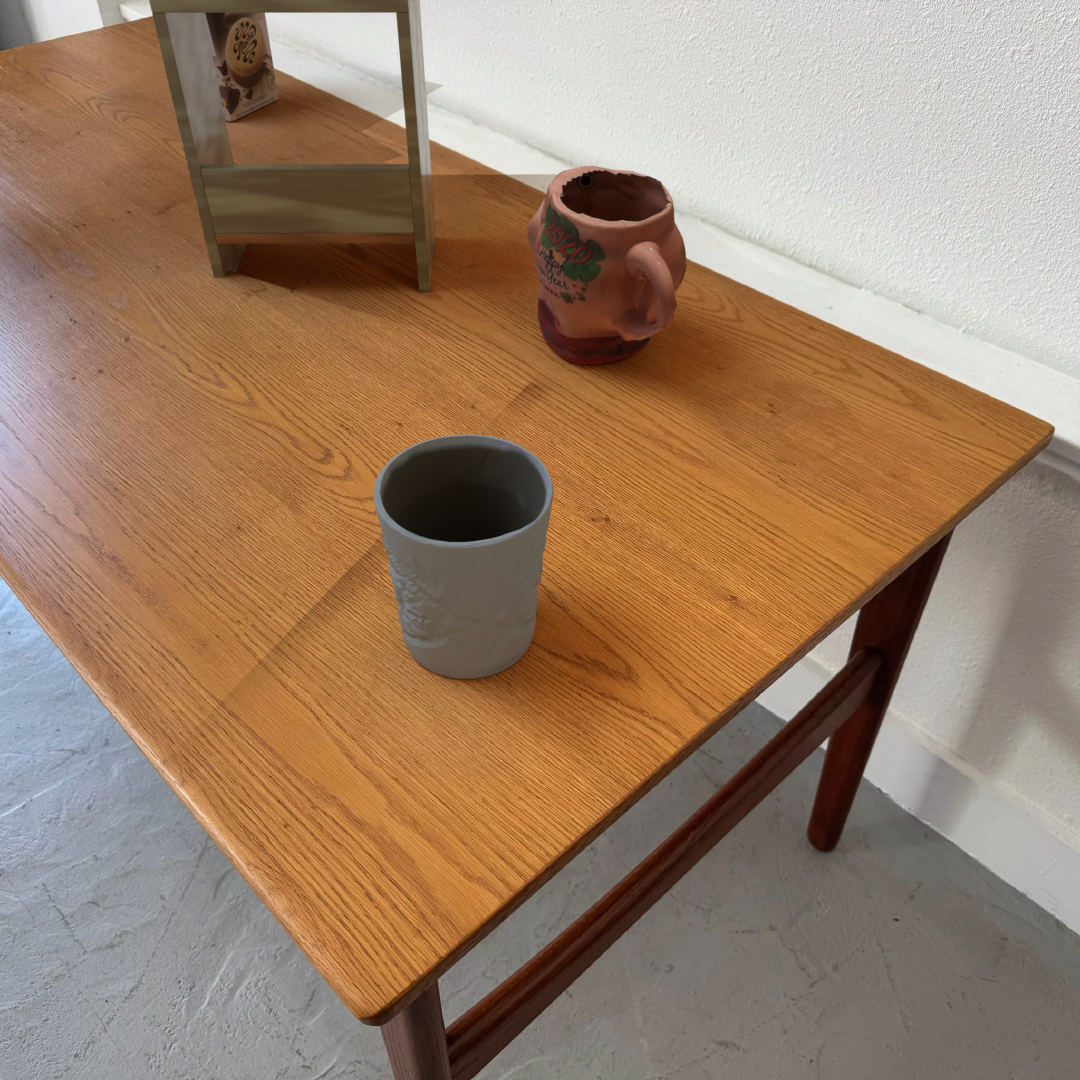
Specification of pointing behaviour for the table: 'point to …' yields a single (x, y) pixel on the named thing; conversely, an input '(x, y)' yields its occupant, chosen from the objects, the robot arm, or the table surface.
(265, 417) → the table surface
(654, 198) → the pink ceramic mug
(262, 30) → the coffee box
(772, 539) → the table surface
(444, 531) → the grey cup
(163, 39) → the shelf unit
